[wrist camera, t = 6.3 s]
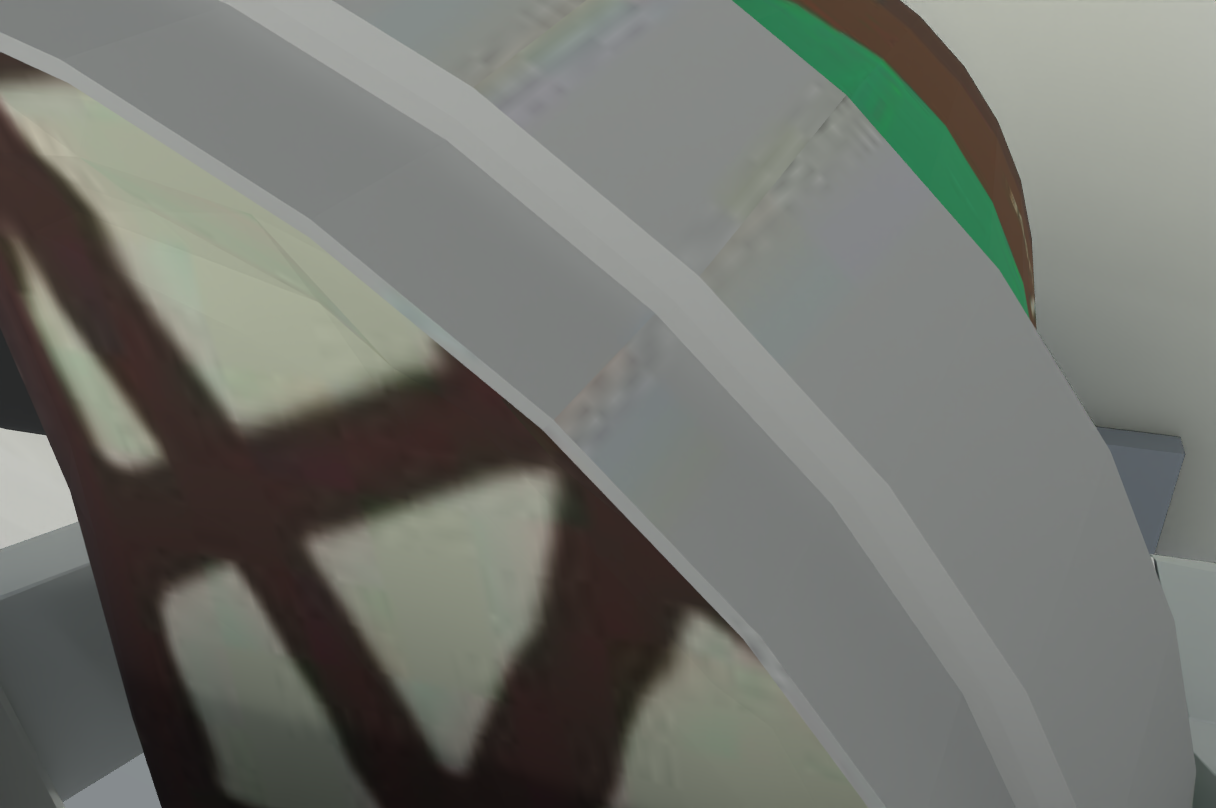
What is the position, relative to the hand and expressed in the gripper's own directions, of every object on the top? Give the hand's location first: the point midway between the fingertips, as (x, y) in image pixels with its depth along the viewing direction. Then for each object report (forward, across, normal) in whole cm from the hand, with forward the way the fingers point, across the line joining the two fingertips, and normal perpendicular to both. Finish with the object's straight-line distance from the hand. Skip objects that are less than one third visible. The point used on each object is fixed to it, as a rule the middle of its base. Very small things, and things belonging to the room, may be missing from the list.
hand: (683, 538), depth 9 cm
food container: (+6, -1, 0) cm, 6 cm away
